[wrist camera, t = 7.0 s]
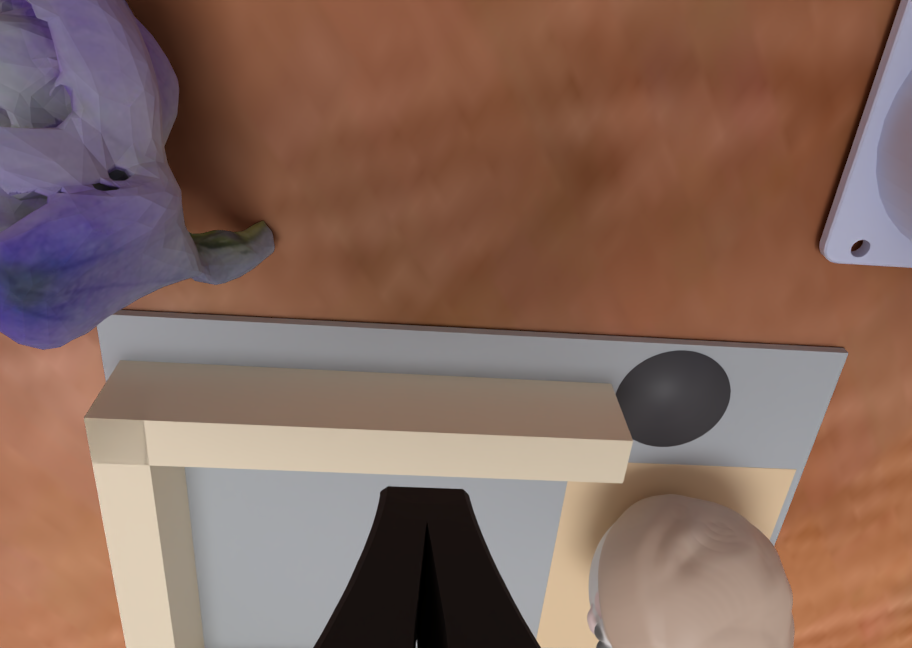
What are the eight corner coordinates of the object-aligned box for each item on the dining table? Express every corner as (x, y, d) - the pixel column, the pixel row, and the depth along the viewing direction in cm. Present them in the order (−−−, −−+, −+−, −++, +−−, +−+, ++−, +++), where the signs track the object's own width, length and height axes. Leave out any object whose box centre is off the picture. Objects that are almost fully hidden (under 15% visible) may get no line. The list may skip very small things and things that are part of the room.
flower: (417, 255, 15) (-261, 169, 9) (264, 421, 21) (-208, 428, 15) (339, -61, 19) (-179, -255, 13) (228, 156, 24) (-162, 85, 19)
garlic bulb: (549, 587, 28) (592, 821, 21) (599, 446, 25) (668, 666, 18) (722, 605, 29) (819, 837, 22) (791, 472, 26) (929, 691, 19)
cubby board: (843, 347, 24) (897, 407, 21) (708, 701, 32) (735, 777, 29) (98, 308, 22) (53, 367, 19) (160, 692, 30) (134, 771, 28)
